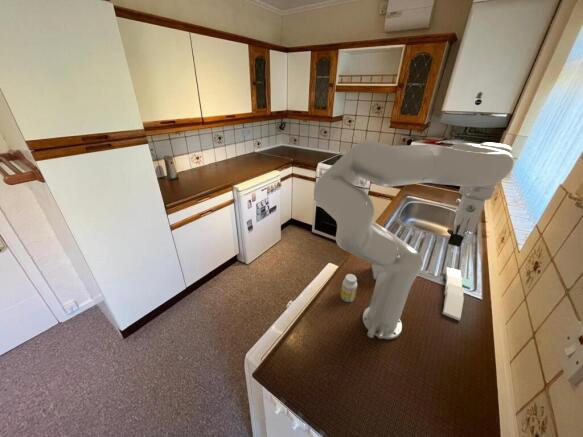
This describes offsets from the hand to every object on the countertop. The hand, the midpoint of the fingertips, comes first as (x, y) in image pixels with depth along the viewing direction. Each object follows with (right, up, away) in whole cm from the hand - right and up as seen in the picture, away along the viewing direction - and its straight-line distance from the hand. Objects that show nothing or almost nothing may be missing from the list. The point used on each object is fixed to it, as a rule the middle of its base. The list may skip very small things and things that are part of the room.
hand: (453, 244), depth 75 cm
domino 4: (+7, -24, +12) cm, 28 cm away
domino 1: (+14, -19, +20) cm, 31 cm away
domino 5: (+4, -26, +8) cm, 27 cm away
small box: (-13, -16, +27) cm, 34 cm away
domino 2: (+22, -19, +22) cm, 37 cm away
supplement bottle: (-30, -22, +16) cm, 40 cm away
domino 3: (+10, -22, +16) cm, 29 cm away
